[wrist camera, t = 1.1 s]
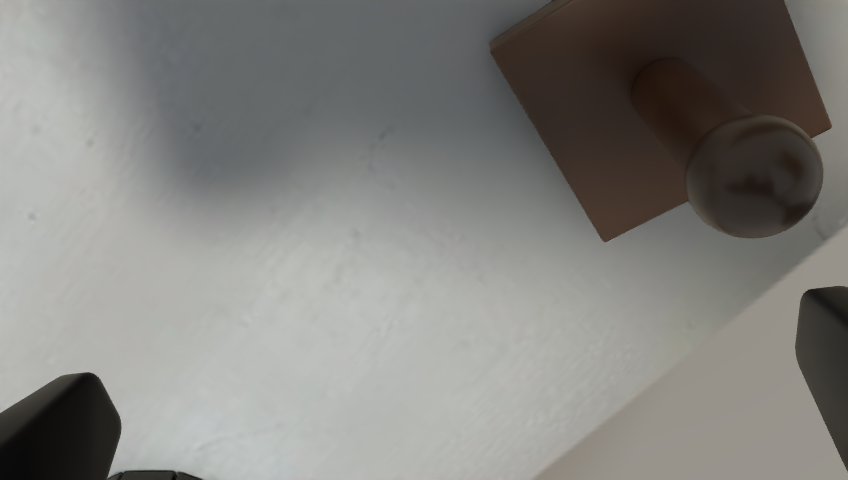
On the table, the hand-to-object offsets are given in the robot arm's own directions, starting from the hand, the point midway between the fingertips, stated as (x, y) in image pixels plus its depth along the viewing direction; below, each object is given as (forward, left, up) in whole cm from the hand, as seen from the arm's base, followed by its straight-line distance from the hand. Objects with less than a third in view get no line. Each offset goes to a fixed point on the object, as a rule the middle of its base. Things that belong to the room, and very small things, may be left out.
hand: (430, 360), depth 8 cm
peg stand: (-3, -5, -13) cm, 14 cm away
